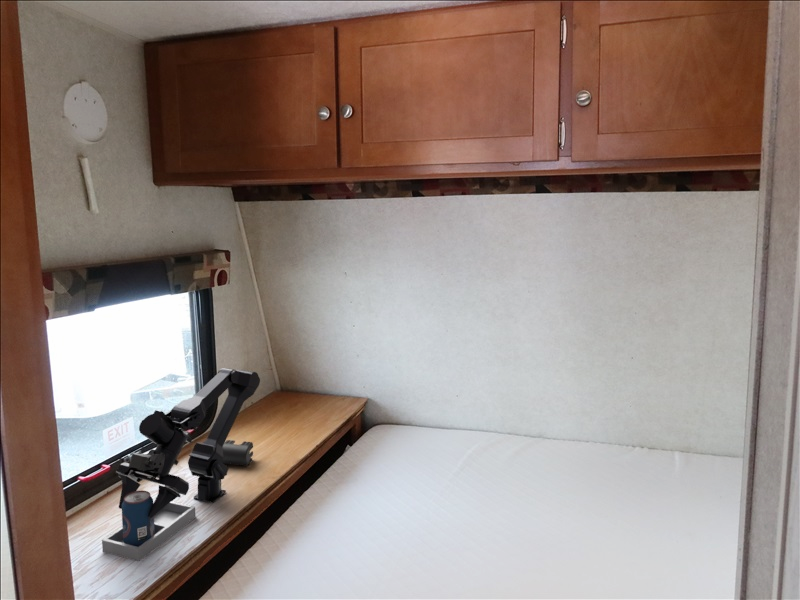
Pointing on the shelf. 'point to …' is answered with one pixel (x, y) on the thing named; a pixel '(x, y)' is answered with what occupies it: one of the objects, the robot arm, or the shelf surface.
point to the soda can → (137, 518)
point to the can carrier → (164, 527)
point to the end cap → (237, 453)
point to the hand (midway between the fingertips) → (134, 512)
